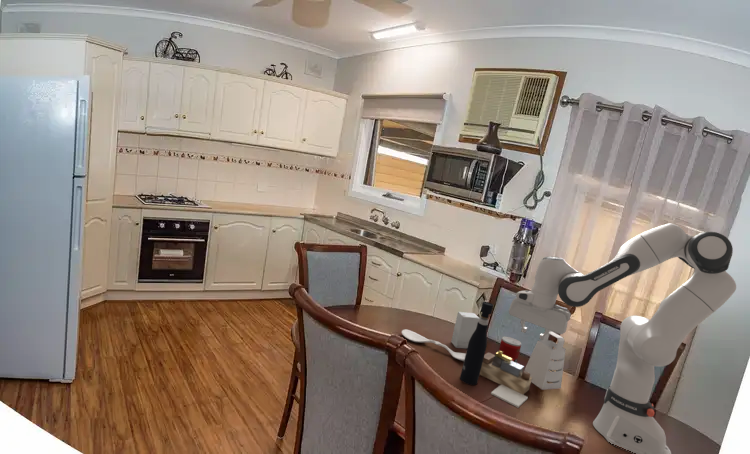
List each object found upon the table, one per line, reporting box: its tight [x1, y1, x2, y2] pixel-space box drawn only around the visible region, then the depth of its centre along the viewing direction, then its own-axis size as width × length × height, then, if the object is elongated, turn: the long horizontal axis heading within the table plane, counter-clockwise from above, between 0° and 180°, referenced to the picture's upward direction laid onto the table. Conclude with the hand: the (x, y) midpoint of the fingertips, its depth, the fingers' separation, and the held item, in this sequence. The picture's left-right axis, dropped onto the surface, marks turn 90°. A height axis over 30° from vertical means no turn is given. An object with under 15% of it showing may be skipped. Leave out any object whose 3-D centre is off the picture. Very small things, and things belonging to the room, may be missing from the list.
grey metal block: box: [500, 360, 525, 377], centre depth 163 cm, size 7×4×3 cm, turn 52°
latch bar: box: [494, 350, 512, 362], centre depth 165 cm, size 6×2×2 cm, turn 52°
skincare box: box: [450, 311, 480, 350], centre depth 190 cm, size 8×6×15 cm
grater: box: [523, 331, 567, 391], centre depth 170 cm, size 10×10×20 cm
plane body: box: [479, 351, 532, 395], centre depth 164 cm, size 18×7×8 cm, turn 52°
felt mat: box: [490, 384, 529, 408], centre depth 154 cm, size 10×10×1 cm
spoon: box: [401, 329, 466, 362], centre depth 182 cm, size 9×32×4 cm, turn 58°
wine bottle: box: [459, 301, 494, 386], centre depth 158 cm, size 6×6×30 cm
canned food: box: [498, 336, 522, 363], centre depth 180 cm, size 8×8×11 cm
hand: (532, 335), depth 158 cm, fingers open, 5 cm apart
